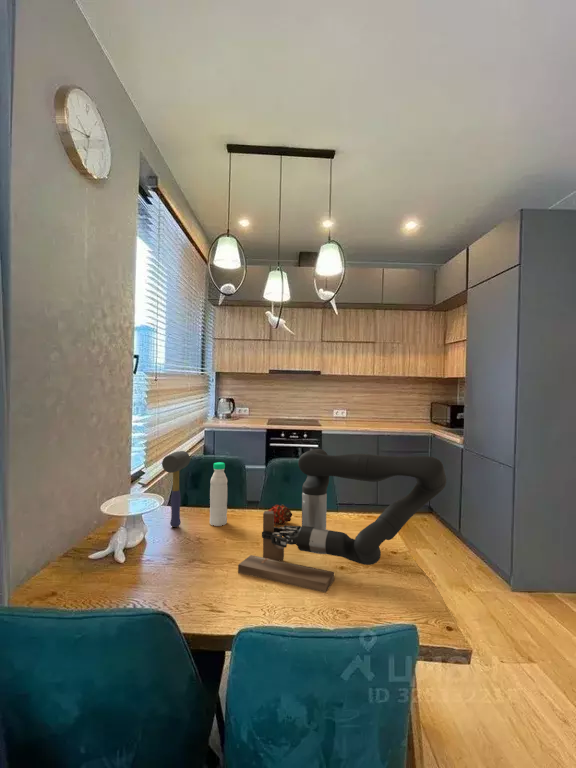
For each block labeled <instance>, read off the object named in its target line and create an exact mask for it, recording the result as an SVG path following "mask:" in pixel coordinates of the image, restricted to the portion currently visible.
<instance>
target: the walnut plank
mask: <svg viewBox="0 0 576 768" xmlns="http://www.w3.org/2000/svg"><path fill="white" fill-rule="evenodd" d="M237 573H238V574H241V575H246V576H251V577H254V578H255V577H256V578H259V579H263V580H268V581H272V582H277V583H281V584H285V585H290V586H294V587H299V588H303V589H308V590H312V591H317V592H321V593H327V592H328V590H330V589H329V588H331V586H332V584H333V583H334V581H335V571H332V570H326V569H322V568H316V567H314V566H313V567H311V566H306V565H303V564H302V565H301V564H297V563H292V562H286V561H284V560H283V561H278V560H273V559H268V558H263V556H258V555H252V554H250V555H249V556H247V557H246V558H245V559H244V560H242V561H241V562H240V563H238V564H237Z"/></svg>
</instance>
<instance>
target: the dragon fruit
mask: <svg viewBox="0 0 576 768" xmlns="http://www.w3.org/2000/svg"><path fill="white" fill-rule="evenodd" d="M267 511H274V525H275V526H278V525H285V524H286V523H287V522H291V521H292V517H293V513H292V511H291V510H290V508H288V507H287V506H286V505H284V503H283V504H282V503H281V505H279V504H274V505H273V506H271V508H269V509H267Z"/></svg>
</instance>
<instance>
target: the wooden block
mask: <svg viewBox="0 0 576 768" xmlns="http://www.w3.org/2000/svg"><path fill="white" fill-rule="evenodd" d="M274 527H275V523H274V511H268V510H264V511H263V514H262V532H263V531H269V532H274ZM262 557H263V558H268V559H273V560H278V561H283V562H284V560H285V548H284V547H281V546H278V545H275V544H273V543H272V540H271V539H265V538H262Z"/></svg>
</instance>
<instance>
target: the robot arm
mask: <svg viewBox="0 0 576 768" xmlns="http://www.w3.org/2000/svg"><path fill="white" fill-rule="evenodd" d="M297 465H298V468H299V470H300V471H301V472H302V473H303V474H305V475H306V479H305V481H304V482H303V484H302V489H301V490H302V491H301V492H302V493H301V525H283V526H280V527H277V526H274V532H269V531H263V530H262V531H261V537H262V539H263V538H265V539H271V540H272V543H273V544H275V545H278V546H281V547H284V549H285V548H287V546H288V545H289V546H294V545H296V546H297V549H298V550H299V551H300V552H306V553H313V554H318V555H329V556H336V557H342V558H344V559H346V560H348V561H350V562H351V561H352V562H354V563H358V564H360V565H365V566H366V565H367V566H372V565H374V564H377V562H379V561H380V558H381V555H382V553H381V551H382V550H381V548H380V546H381V545H382V544H383V542H385V541H390V540H392V539H394V537H396V535H397V534H398V533H399V532H400V531H401V530H402V528H403V527H404V526H405V525H406V524H407V523H408V521H410V519H411V518H412V517H413V516H414V515H415V514H416V513H418V511H420V510H421V509H422V508H423V507H424V506H425V505H427V504H428V503H429V502H430V501H431V500H432V499H433V498H435V497H436V496H437V495H439V494H440V493H441V492H443V490H444V489H445V487H446V485H447V475H446V471H445V467H444V464H443V462H442V461H441V460H440V459H439V458H437V457H434V456H428V455H427V456H425V455H416V456H410V455H409V456H396V455H395V456H394V455H379V454H378V455H377V454H369V453H367V454H366V453H349V454H339V455H329V454H328V452H326V451H325V450H324V449H321V448H315V449H311V450H307V451H305V452H304V453H302V454H301V455H300V457H299V458H298V461H297ZM396 476H399V477H400V476H402V477H410V478H411V477H412V478H415V481H416V484H415V485H414V487H413V488H412V490H411V491H410V492H409V493H408V494H407V495H406V496H404V497H403V498H400V499H397V500H396V501H394V502H392V503H391V504H389V505H388V506H387V507H386V508H385V509H384V510H383V511H382V512H381V514H380V515H379V516H378V517H377V518H376V519H375V520H374V521H373V522H371V523H370V524H368V525H367V526H366V527H364V528H363V529H362V530H360V531H359V532H358V533H357V535H356V536H355V538H353V537H350V536H349V535H348V534H347V533H346V532H342V531H337V530H330V529H327V502H328V501H327V498H328V497H327V493H328V491H327V490H328V487H329V484H330V483H329V482H330V477H337V478H342V479H348V480H356V481H362V482H371V483H372V482H373V483H377V482H382V481H384V480H387V479H390V478H393V477H396Z"/></svg>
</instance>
